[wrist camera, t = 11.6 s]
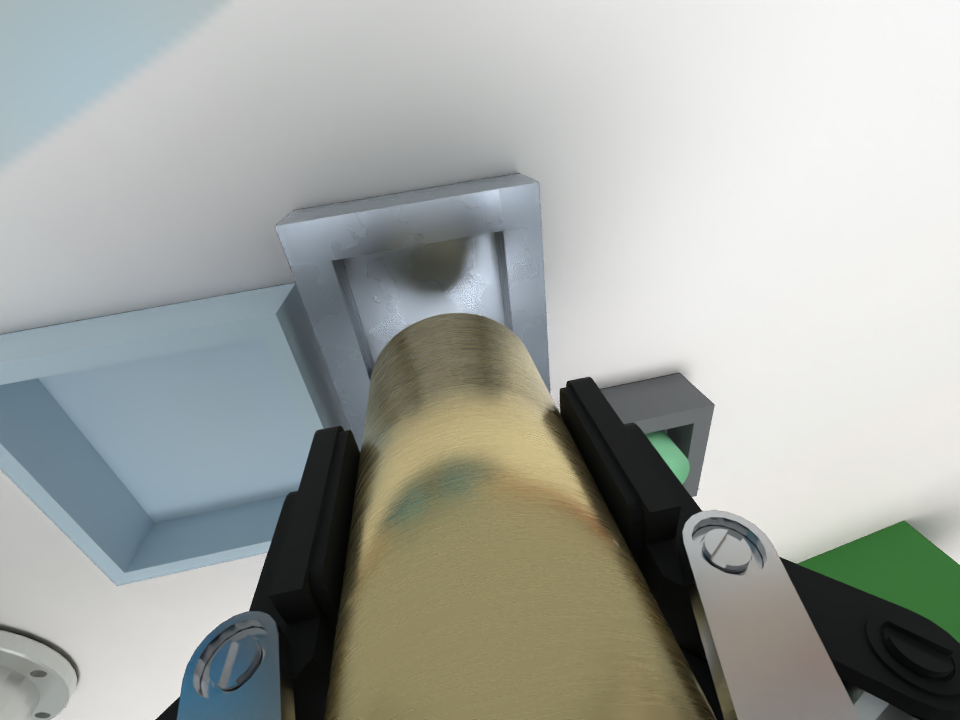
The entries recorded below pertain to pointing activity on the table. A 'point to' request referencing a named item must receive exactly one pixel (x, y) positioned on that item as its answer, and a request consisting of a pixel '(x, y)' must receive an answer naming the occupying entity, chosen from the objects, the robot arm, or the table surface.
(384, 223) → the metal compartment tray
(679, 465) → the button
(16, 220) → the table surface
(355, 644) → the billet
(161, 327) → the tray
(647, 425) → the grey button housing
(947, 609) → the hardback book
